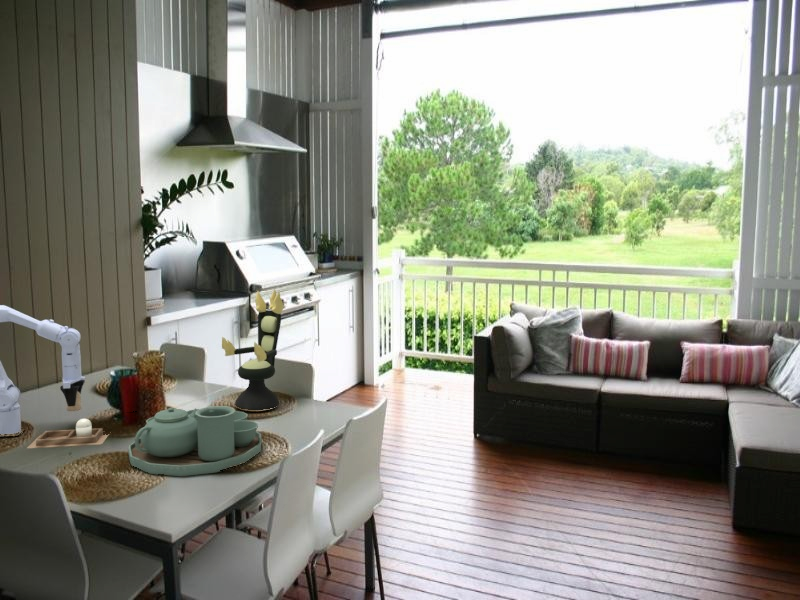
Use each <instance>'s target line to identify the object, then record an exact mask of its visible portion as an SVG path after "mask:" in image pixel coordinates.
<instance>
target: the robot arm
mask: <svg viewBox="0 0 800 600" xmlns="http://www.w3.org/2000/svg"><path fill="white" fill-rule="evenodd" d="M7 322H12V323H14V324H17V325H20V326H23V327H26V328H29V329H32V330H35V331H36V332H35V333H36V334H37V336H40V337H42V338H45V339H47V340H49V341H52V342H55V343H59V345H60V347H61V364H62V365H61V367H62V369H61V370H62V378H61V379H62V385H60V387H59V388H60V391H61V392H62V394H63V396H64V398H65V403H66V402H67V405H68V406H75V404H76V395H77V391H78V392H79V393H80V394H81V395H82V389H83V386H84V385H85V380H86V376H83V375H82V361H81V360H82V355H81V345H80V341H81V337H82V335H81V333H80V332H79V330H77V329H75V327H69V326H67V325H65V326H63V325H61V324H59V323H56V322H55V320H54V319H43V320H39V319H36V318H34V317H32V316H29V315H28V314H25V313H23V312H21V311H18V310H16V309H14V308H12V307H10V306H7V305H5V304H2V305H1V304H0V323H7ZM13 382H14V381H12V380H11V379H10V378H9V377H8V374H7V372H6V369H5V368H4V365H3V363H2V361H1V360H0V434H1V435H4V434H14V433H18V432H20V431H21V428H22V421H21V420H22V419H21V406H20V404H19V402H18V401H19V399H20V398H21V391H20V389H19V387H17V386H15V384H14V383H13Z"/></svg>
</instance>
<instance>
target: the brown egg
mask: <svg viewBox="0 0 800 600" xmlns="http://www.w3.org/2000/svg"><path fill="white" fill-rule="evenodd" d="M65 406H66V412H77V411H81V410H82V393H81V394H80V393H79V392H78V391H77V395H76V404H75V406H68V405H67V402H66V401H65Z"/></svg>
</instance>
